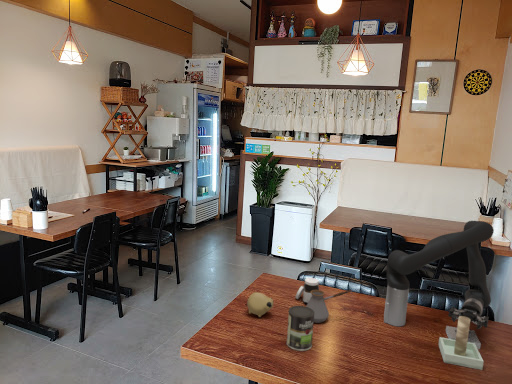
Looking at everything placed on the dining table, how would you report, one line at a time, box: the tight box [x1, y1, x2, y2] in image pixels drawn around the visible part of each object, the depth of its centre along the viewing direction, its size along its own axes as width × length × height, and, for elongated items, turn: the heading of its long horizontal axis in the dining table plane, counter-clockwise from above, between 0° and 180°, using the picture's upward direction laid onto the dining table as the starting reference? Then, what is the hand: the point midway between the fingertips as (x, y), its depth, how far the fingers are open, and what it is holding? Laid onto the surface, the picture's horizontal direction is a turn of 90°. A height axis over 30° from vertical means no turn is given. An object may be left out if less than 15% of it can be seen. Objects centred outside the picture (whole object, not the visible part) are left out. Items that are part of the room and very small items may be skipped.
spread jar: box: [294, 277, 320, 305], centre depth 192 cm, size 12×11×12 cm
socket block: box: [445, 325, 482, 350], centre depth 162 cm, size 11×11×2 cm
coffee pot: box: [305, 289, 353, 324], centre depth 173 cm, size 21×12×15 cm, turn 87°
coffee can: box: [286, 305, 314, 352], centre depth 152 cm, size 10×10×14 cm
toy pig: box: [246, 292, 274, 318], centre depth 176 cm, size 10×12×11 cm
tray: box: [438, 336, 484, 371], centre depth 149 cm, size 13×13×4 cm
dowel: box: [454, 316, 471, 356], centre depth 148 cm, size 4×4×15 cm
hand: (465, 323), depth 152 cm, fingers open, 8 cm apart
